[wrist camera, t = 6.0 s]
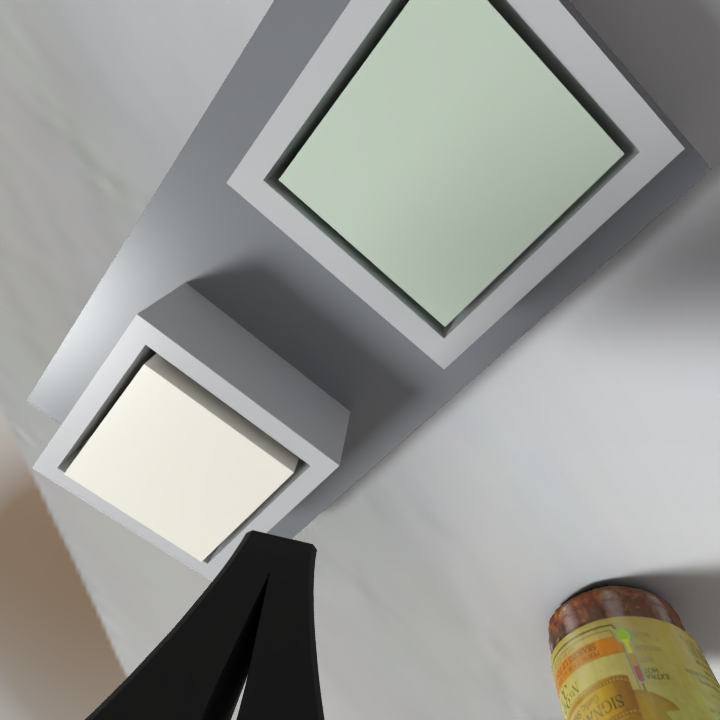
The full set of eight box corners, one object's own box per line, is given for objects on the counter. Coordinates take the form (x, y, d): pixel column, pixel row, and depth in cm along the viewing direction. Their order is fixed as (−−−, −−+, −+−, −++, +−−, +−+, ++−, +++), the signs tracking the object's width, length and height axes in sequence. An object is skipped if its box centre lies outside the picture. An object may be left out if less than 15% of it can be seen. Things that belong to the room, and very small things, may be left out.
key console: (663, 164, 15) (796, 177, 10) (280, 517, 22) (244, 627, 17) (400, -139, 12) (395, -326, 7) (69, 371, 20) (-44, 449, 15)
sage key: (595, 151, 11) (624, 153, 10) (440, 305, 13) (444, 327, 11) (438, -21, 10) (444, -49, 8) (294, 174, 12) (278, 179, 10)
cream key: (304, 440, 15) (293, 472, 14) (218, 525, 17) (201, 561, 15) (171, 340, 14) (144, 364, 13) (94, 443, 16) (63, 474, 14)
